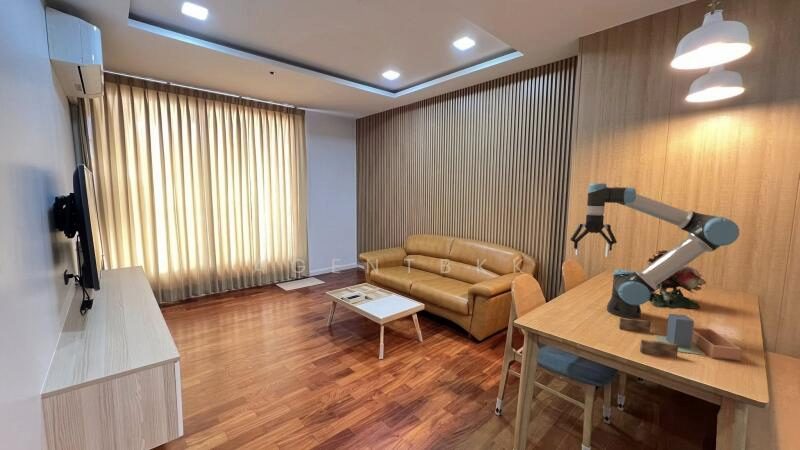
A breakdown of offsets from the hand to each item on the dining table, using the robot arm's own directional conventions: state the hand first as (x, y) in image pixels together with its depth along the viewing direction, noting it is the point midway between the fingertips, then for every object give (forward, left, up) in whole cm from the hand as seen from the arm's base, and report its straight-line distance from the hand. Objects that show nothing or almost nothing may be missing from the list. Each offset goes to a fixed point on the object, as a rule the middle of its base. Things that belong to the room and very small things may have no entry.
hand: (591, 256), depth 164 cm
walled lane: (-17, +24, -32) cm, 43 cm away
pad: (-29, +24, -32) cm, 49 cm away
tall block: (-29, +24, -31) cm, 49 cm away
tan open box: (-40, +24, -32) cm, 56 cm away
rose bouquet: (-51, -38, -32) cm, 71 cm away
